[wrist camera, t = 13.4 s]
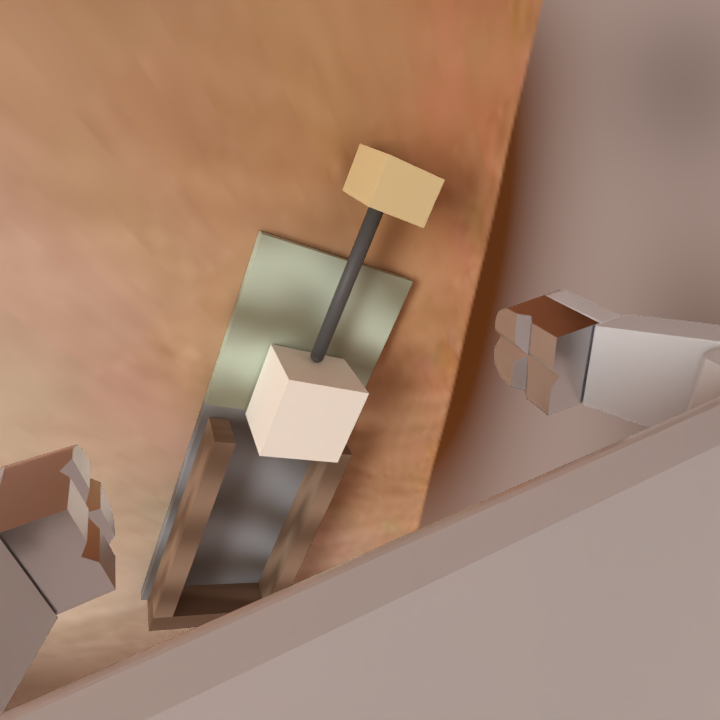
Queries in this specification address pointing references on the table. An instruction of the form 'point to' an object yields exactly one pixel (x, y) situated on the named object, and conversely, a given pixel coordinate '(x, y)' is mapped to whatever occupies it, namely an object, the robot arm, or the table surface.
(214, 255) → the table surface
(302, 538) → the shelf lane
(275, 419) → the block plunger with rod
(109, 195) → the table surface
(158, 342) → the table surface
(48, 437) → the table surface
